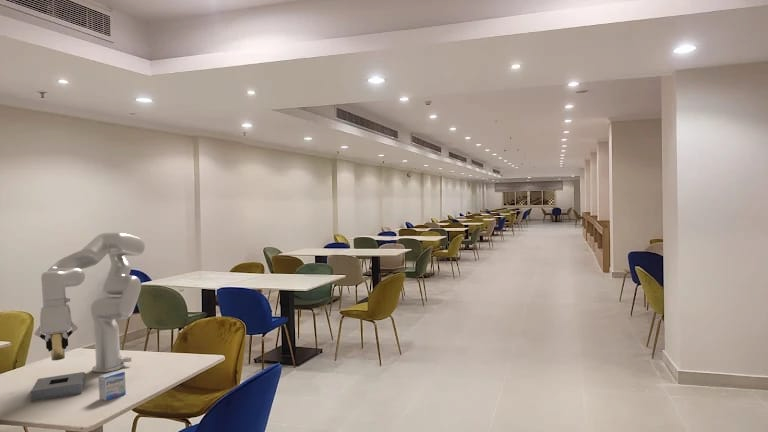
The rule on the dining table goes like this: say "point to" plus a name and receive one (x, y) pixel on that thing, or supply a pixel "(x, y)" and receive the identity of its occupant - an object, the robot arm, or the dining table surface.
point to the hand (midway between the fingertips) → (57, 348)
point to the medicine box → (112, 385)
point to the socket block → (58, 386)
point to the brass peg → (57, 346)
